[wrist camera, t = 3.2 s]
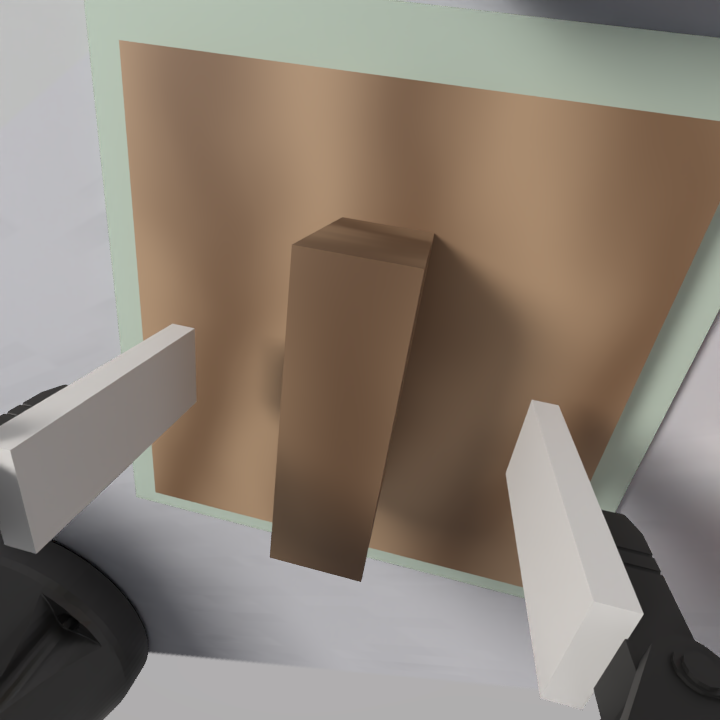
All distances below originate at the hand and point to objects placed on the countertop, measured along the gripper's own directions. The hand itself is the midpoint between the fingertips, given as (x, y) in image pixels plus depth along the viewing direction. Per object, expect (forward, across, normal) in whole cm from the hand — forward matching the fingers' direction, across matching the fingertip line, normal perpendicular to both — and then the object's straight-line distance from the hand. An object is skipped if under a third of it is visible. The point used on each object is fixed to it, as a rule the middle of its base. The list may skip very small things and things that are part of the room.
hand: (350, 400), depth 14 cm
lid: (+4, 0, 0) cm, 4 cm away
